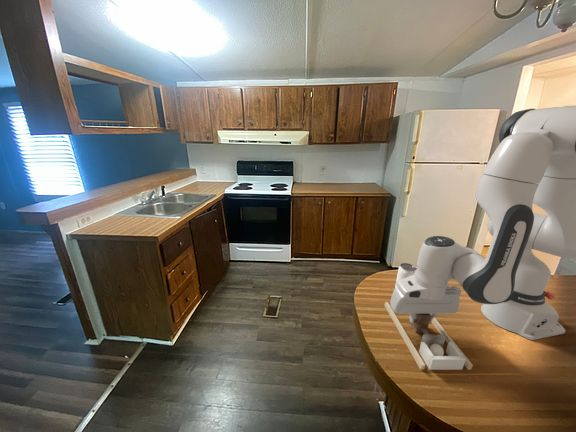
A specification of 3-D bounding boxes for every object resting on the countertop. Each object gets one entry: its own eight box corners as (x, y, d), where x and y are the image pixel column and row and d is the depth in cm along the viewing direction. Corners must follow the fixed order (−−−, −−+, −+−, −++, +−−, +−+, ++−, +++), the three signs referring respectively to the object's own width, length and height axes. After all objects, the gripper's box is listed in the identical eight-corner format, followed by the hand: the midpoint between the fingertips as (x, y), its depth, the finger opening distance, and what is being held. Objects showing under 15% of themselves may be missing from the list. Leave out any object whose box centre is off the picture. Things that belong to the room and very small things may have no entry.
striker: (423, 322, 79) (427, 306, 76) (442, 349, 69) (447, 331, 67) (406, 323, 79) (409, 306, 76) (422, 349, 69) (427, 331, 67)
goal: (448, 352, 68) (452, 341, 67) (462, 369, 63) (465, 359, 62) (418, 352, 68) (421, 342, 67) (429, 370, 63) (432, 359, 62)
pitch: (420, 308, 87) (422, 301, 86) (469, 373, 64) (472, 365, 62) (383, 308, 87) (385, 302, 86) (419, 373, 63) (421, 365, 62)
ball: (443, 342, 66) (448, 356, 64) (437, 344, 69) (442, 358, 67) (431, 342, 66) (436, 356, 64) (425, 344, 69) (430, 358, 67)
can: (413, 297, 93) (419, 272, 89) (396, 295, 94) (401, 270, 90) (409, 287, 99) (414, 263, 95) (393, 285, 100) (397, 261, 96)
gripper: (455, 280, 74) (445, 314, 78) (391, 280, 74) (385, 314, 78) (469, 292, 68) (458, 329, 72) (400, 293, 68) (393, 329, 72)
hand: (419, 321), depth 75 cm, fingers closed on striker, 3 cm apart
